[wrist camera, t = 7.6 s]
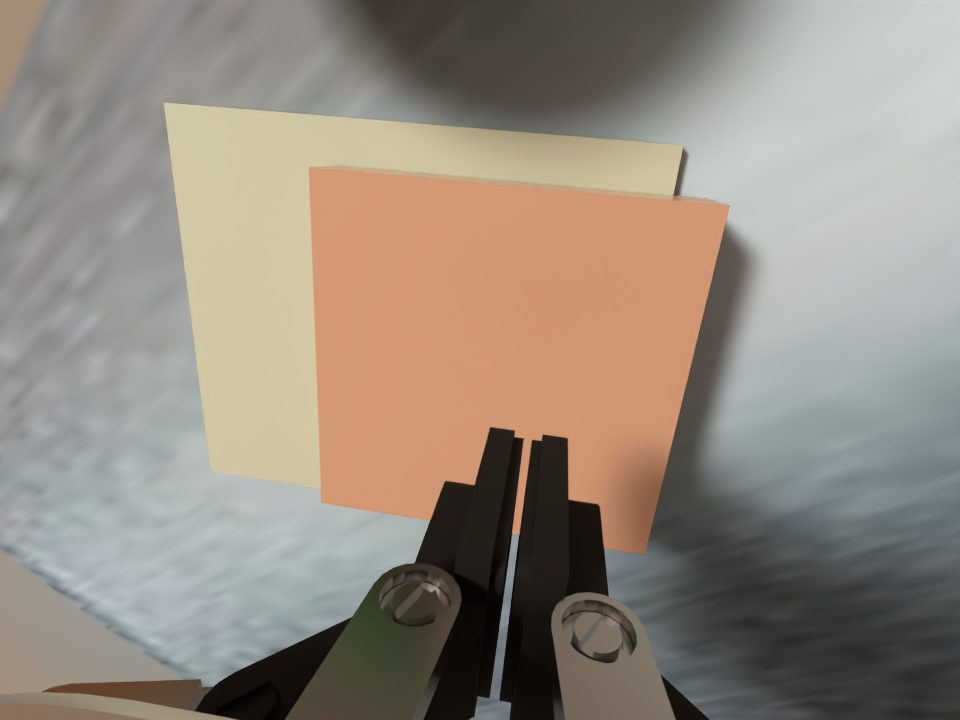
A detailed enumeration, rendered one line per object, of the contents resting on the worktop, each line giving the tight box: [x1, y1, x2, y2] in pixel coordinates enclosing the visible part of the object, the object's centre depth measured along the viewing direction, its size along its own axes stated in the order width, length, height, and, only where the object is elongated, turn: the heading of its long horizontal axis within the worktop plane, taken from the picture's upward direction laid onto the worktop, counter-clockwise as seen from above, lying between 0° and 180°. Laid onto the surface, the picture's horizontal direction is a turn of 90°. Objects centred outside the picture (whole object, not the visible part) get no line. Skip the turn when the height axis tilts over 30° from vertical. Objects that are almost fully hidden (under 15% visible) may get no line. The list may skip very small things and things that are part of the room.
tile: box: [309, 165, 729, 555], centre depth 19 cm, size 3×12×12 cm
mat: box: [164, 103, 683, 488], centre depth 21 cm, size 18×15×1 cm
